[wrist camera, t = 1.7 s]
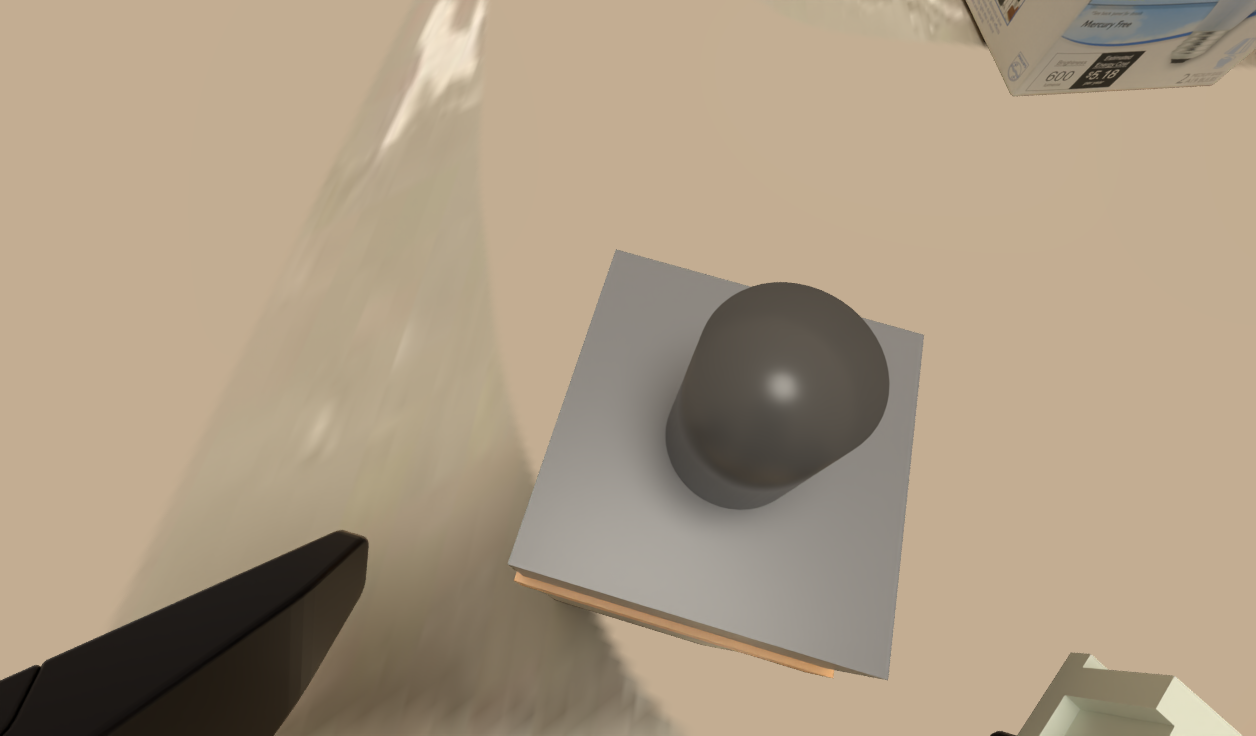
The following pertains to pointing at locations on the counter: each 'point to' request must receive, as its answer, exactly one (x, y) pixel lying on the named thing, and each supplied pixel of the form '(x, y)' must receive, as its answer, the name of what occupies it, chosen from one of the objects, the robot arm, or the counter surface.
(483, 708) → the counter surface
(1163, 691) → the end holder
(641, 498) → the grey square bottle
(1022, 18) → the light bulb box
